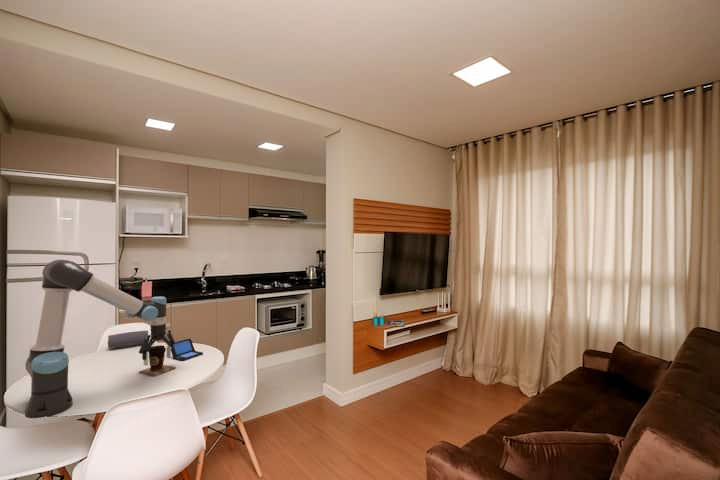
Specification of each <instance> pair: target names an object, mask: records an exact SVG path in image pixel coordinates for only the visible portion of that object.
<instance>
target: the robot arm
mask: <svg viewBox="0 0 720 480" xmlns="http://www.w3.org/2000/svg"><path fill="white" fill-rule="evenodd" d="M42 277H43V279H42V285H41V289H42V290H43V291H44V297H43V298H44V299H43V304H42V310H41V316H40V320H39V325H38V331H37V336H36V337H37V338H36V342H35V344H34V345H33V346H31V347H30V349H29V355H28V357H27V359H26V361H25V370H26V372H27V373H28V374H29V376H30V377H31V378H30V379H31V387H30V388H31V390H30V391H31V394H30V398H29V399H28V402H27V405H26V407H25V409H24V417H25V418H27V419H39V418H47V417H51V416H53V415H58V414H60V413H62V412H65V411H67V410H68V409H70V408H72V406H73V405H74V404H73V402H74V401H73V400H74V399H73V397H72V394H71V392H70V390H69V388H68V387H69V363H70V359H69V355H68V354H67V353H66V352H64V351H65V345H64V344H63V343H62V338H63V333H64V328H65V323H66V316H67V311H68V304H69V298H70V294H71V292H72V291H75V292H78V293H79V292H83V293H86V294H87V295H90V296H92V297H94V298H96V299H98V300H101V301H103V302H105V303H107V304H109V305H112V306H114V307H115V308H118V309H120V310H123V312H124V313H125V316H126V318H130V319H131V318H133V319H134V318H139V319H141V320H143V321H146V322H150V334H148V335H145V339H144V342H143V343H142V344H141V347H140V348H139V351H138V354H141V355H142V357H141V358H142V360H143V366H145V367H146V366H149V352H148V351H149V349H150V348H151V347H152V346H154V343H156V342H159V341H163V342H164V343H165V344H166V345H167V346H166V358H167V359H171V357H172V352H171V351H172V347H173V345H174V344H175V342H176V341H175V340H174V339H175V338H174V337H173V335H172V332H171V330H170V329H167V306H168V305H167V297H165V296H152V297H151V298H150V301H143V300H141V299H139V298H137V297H135V296H133V295H130V294H128V293H127V292H126V291H125V292H124V291H122V290H121V289H119V288H117V287H115V286H113V285H111V284H109V283H107V282H105V281H103V280H101V279H98V278H97V277H95V274H94V273H92V272H90V271H88V270H87V269H85V268H83V266H81V265H79V263H76V262H74V261H71V260H68V259H55V260H53V261H50V262H49V263H47V264H46V265H45V266H44V268H43V269H42Z"/></svg>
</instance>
